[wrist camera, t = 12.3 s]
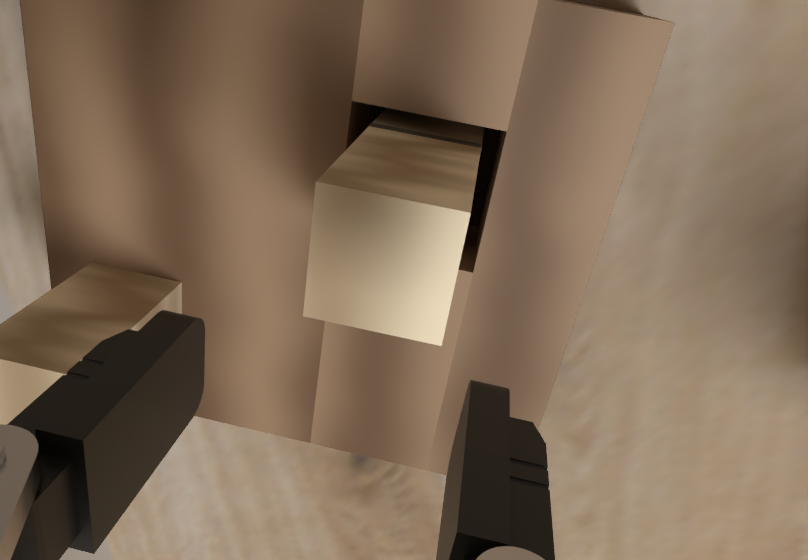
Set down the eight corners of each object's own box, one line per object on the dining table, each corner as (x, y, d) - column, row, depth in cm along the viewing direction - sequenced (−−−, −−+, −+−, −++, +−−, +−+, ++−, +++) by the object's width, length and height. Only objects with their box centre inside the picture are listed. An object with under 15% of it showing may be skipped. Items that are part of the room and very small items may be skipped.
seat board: (643, 14, 24) (755, 43, 13) (516, 422, 33) (519, 637, 22) (97, -86, 25) (-209, -135, 14) (120, 331, 34) (-58, 492, 23)
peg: (486, 117, 26) (471, 212, 15) (467, 207, 28) (442, 347, 17) (393, 99, 26) (315, 181, 16) (380, 189, 28) (302, 316, 18)
